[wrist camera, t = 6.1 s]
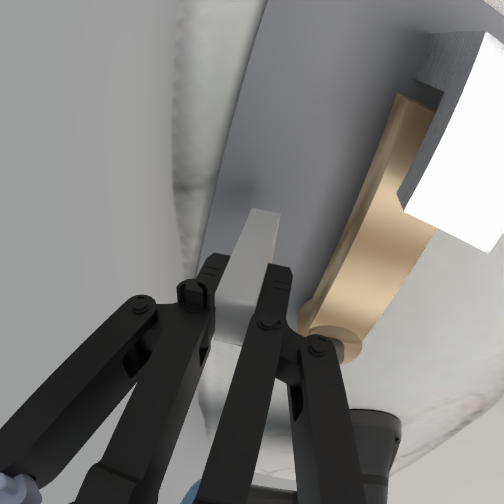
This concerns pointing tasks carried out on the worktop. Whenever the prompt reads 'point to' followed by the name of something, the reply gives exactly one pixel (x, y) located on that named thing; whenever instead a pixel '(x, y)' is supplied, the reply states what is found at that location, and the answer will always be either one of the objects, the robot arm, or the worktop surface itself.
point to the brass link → (372, 241)
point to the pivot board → (322, 119)
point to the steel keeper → (461, 140)
